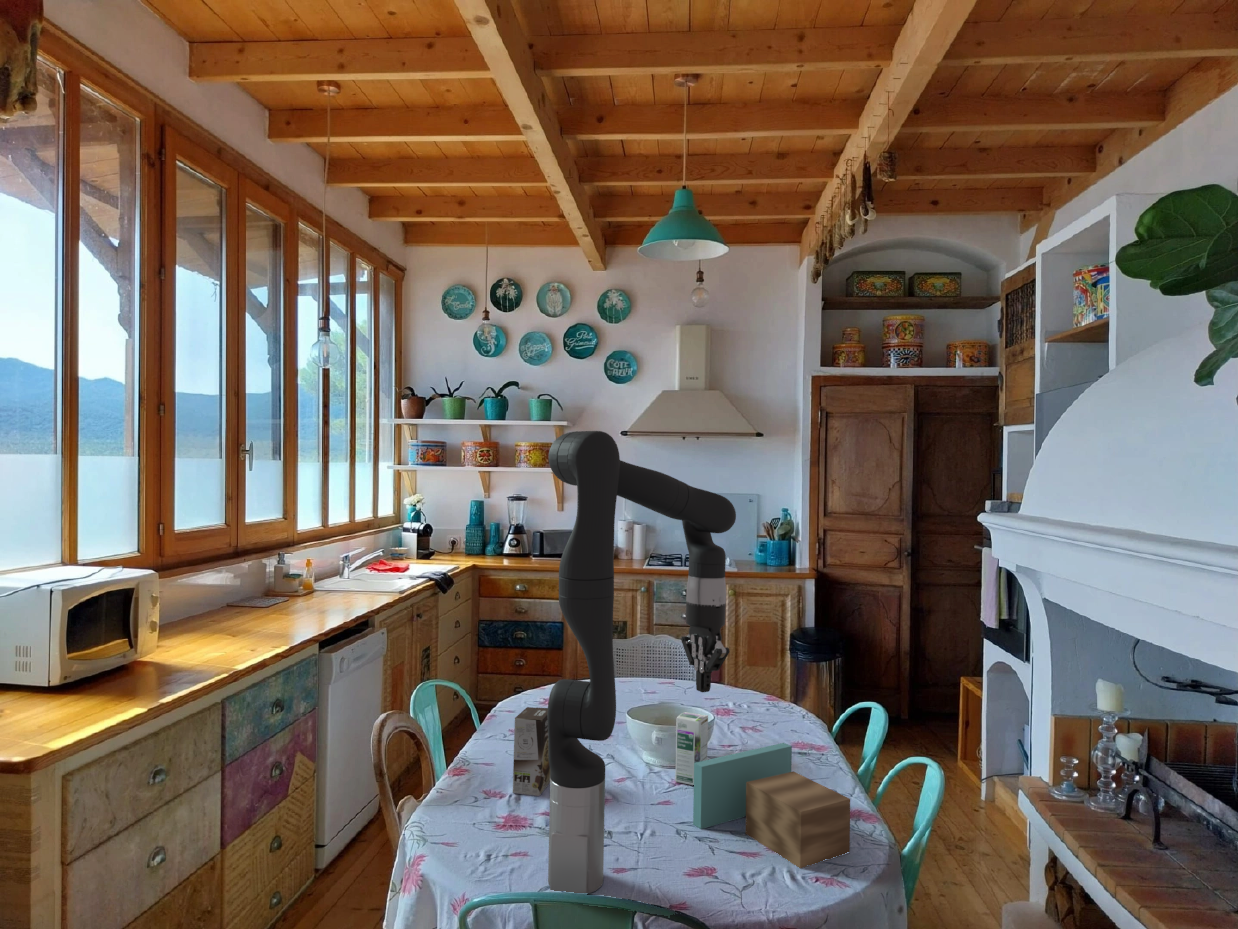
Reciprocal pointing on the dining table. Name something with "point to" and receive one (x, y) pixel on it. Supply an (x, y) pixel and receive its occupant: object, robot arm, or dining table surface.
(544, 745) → the coffee box
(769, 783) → the walnut block
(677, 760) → the syrup box
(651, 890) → the dining table surface
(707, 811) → the teal board
